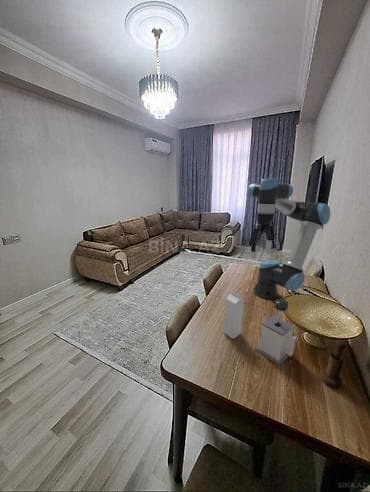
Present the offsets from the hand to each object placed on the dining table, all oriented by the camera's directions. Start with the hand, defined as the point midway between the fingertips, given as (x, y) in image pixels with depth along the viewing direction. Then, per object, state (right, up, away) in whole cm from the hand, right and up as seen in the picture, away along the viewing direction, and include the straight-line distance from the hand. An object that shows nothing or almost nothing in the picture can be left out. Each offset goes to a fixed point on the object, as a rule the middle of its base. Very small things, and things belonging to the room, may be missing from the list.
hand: (260, 255), depth 106 cm
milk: (-15, -39, -3) cm, 42 cm away
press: (+1, -42, -14) cm, 44 cm away
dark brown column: (+16, -46, -27) cm, 56 cm away
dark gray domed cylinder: (+1, -32, -17) cm, 36 cm away
